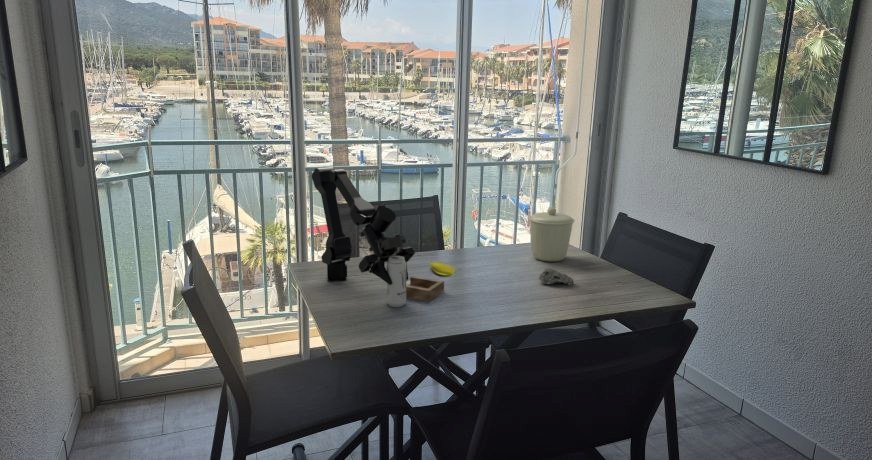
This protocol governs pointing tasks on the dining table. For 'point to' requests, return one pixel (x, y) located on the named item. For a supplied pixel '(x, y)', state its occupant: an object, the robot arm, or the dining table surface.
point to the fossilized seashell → (554, 277)
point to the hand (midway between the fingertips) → (399, 282)
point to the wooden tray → (424, 288)
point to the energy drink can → (396, 281)
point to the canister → (550, 235)
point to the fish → (442, 268)
